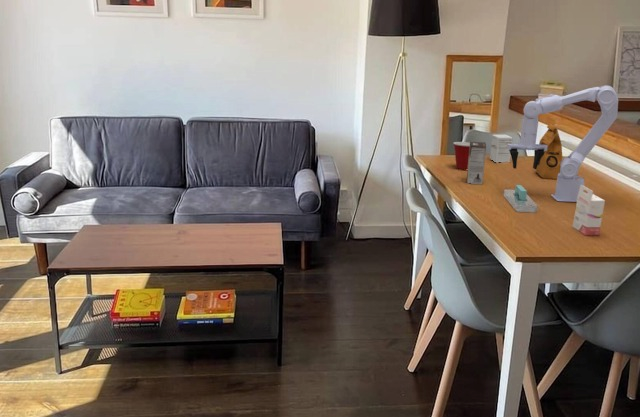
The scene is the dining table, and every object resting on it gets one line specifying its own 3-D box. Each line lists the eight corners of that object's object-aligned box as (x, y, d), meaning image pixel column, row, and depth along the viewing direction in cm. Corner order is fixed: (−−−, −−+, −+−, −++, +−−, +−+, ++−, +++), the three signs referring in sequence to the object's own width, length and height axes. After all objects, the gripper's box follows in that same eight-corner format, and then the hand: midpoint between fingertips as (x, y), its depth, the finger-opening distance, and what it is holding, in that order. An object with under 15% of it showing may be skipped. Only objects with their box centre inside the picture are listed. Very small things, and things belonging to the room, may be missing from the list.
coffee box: (466, 178, 252) (469, 141, 247) (481, 179, 250) (485, 142, 245) (466, 183, 243) (470, 145, 238) (482, 184, 242) (486, 146, 237)
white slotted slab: (521, 196, 227) (522, 190, 226) (536, 212, 208) (537, 205, 207) (503, 195, 227) (504, 189, 227) (516, 211, 208) (517, 205, 208)
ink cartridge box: (600, 235, 186) (607, 191, 182) (585, 235, 186) (592, 191, 181) (586, 226, 195) (593, 183, 190) (571, 226, 194) (578, 183, 190)
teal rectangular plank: (519, 200, 222) (521, 185, 220) (525, 206, 214) (527, 191, 212) (513, 200, 222) (515, 185, 220) (519, 206, 214) (521, 191, 212)
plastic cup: (478, 168, 269) (481, 142, 266) (470, 172, 261) (473, 146, 257) (455, 164, 275) (458, 139, 271) (447, 169, 266) (449, 143, 262)
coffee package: (537, 178, 252) (544, 128, 245) (533, 171, 264) (539, 123, 257) (562, 180, 251) (569, 129, 244) (556, 173, 262) (563, 124, 255)
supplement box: (489, 160, 285) (491, 134, 281) (503, 159, 286) (506, 134, 282) (495, 163, 278) (498, 137, 274) (510, 163, 279) (513, 137, 275)
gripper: (512, 134, 219) (507, 170, 223) (551, 135, 218) (546, 171, 222) (507, 131, 226) (503, 165, 230) (545, 132, 225) (541, 166, 229)
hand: (524, 168), depth 227 cm, fingers open, 7 cm apart
